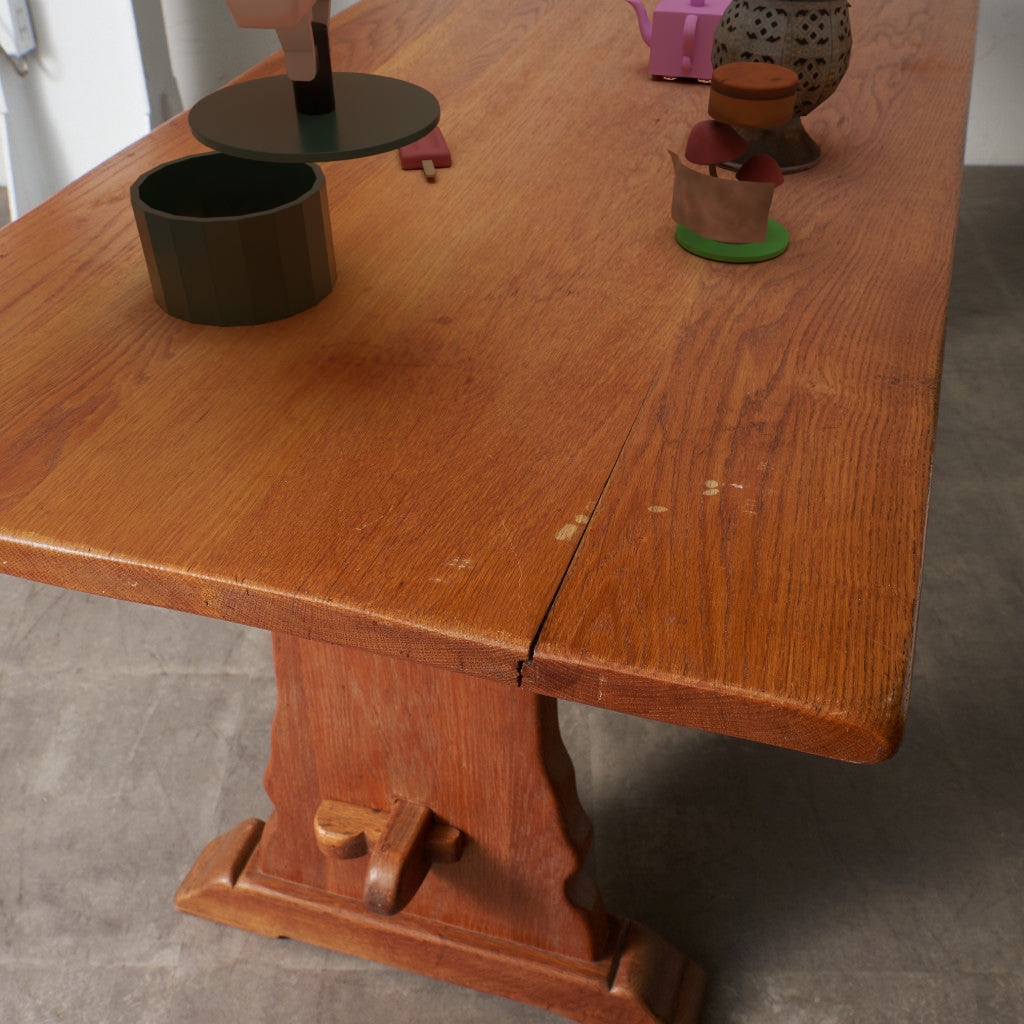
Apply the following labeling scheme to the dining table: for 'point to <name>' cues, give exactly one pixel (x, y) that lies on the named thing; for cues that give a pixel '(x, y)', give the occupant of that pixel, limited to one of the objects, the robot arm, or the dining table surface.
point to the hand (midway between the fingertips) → (310, 68)
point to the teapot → (680, 36)
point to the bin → (235, 238)
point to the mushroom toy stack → (744, 203)
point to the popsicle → (426, 153)
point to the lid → (314, 115)
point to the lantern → (787, 66)
